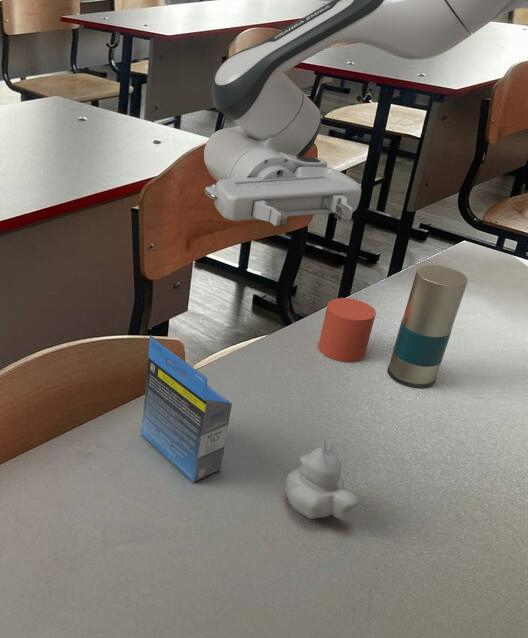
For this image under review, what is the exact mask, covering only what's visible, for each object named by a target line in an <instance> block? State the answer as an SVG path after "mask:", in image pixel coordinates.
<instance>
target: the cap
mask: <svg viewBox="0 0 528 638" xmlns="http://www.w3.org/2000/svg"><path fill="white" fill-rule="evenodd" d="M325 310H326V311H325V314H324V319H323V322H322V323H323V324H322V328H321V332H320V336H319V339H318V346H317V347H318V350H319V351H320V352H321V353H322V354H323V356H326V357H327V358H330V359H332V360H335V361H338V362H343V363H344V362H345V363H354V362H358V361H361V360H363V359H364V357H365V356H366V352H367V349H368V345H369V342H370V341H369V340H370V337H371V334H372V329H373V326H374V323H375V318H376V315H377V312H376V310H375V308H374V307H373V306H372V305H370V304H369V303H367V302H364V301H362V300H358V299H356V298H355V299H354V298H349V297H339V298H334V299H331V300H330V301H328V303H327V306H326V309H325Z"/></svg>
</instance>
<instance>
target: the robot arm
mask: <svg viewBox="0 0 528 638" xmlns="http://www.w3.org/2000/svg"><path fill="white" fill-rule="evenodd" d="M521 9H528V0H331V1H329V2H328V3H326V4H324V5H323V6H321V7H319V8H317V9H316V10H314V11H312V12H310V13H308V14H307V15H305V16H303V17H302V18H300V19H299V20H297V21H294V23H291V24H290V25H289V26H287V27H285V28H283V29H282V30H280V31H278V32H277V33H275V34H273V35H271V36H270V37H268V38H266V39H265V40H262V41H261V42H259V43H256V44H254V45H252V46H249V47H247V48H244V49H241V50H239V51H237V52H235V53H234V54H232V55H231V56H229V57H228V58H227V59H225V60H224V61H223V62H222V63H221V64H220V65H219V67H218V68H217V70H216V71H215V73H214V75H213V78H212V84H211V85H212V86H211V97H212V103H213V104H212V105H213V107H214V108H215V110H217V111H219V112H220V113H221V114H223V116H225V117H227V118H228V119H230V120H231V121H233V122H234V123H235V124H236V126H233V127H226V128H222V129H219V130H217V131H215V132H213V133H212V134H211V135H210V137H209V138H208V139H207V141H206V143H205V146H204V151H203V160H204V165H205V167H206V170H207V172H208V173H209V174H210V177H212V179H214V180H215V183H212V184H210V186H206V187H205V188H204V194H205V195H206V196H207V197H209V198H210V199H212V200H213V205H214V207H215V208H216V210H217V211H218V213H219V215H221V217H223V218H224V219H225V220H229V221H233V222H234V221H235V222H236V221H249V220H259V221H264V222H267V223H270V224H272V225H273V226H274V227H278V226H285V225H287V222H288V221H287V219H288V217H300V216H301V217H302V216H315V215H324V214H325V215H327V214H334V215H333V218H335V219H337V220H338V221H351V220H352V218H353V217H352V216H353V213H354V212H355V211H357V209H358V206H359V203H360V200H361V196H362V185H360V184H359V183H358V182H357V181H356V180H354V179H353V178H351V177H350V176H348V175H346V174H345V173H343V172H342V171H340V170H337V169H335V168H333V167H328V161H326V160H325V159H323V158H319V157H310V156H309V157H308V156H305V155H306V154H307V153H308V152H309V151H310V149H311V148H312V147H313V145H314V144H315V142H316V140H317V138H318V135H319V133H320V130H321V125H322V112H321V109H320V108H319V107H318V106H317V105H316V104H315V103H314V102H313V100H312V99H311V98H309V97H308V96H307V94H305V92H304V91H303V90H302V89H300V88H299V87H298V86H297V84H295V82H294V81H292V80H291V79H290V78H289V77H288V75H286V72H287V71H288V70H290V69H292V68H294V67H295V66H298V65H299V64H301V63H303V62H304V61H306V60H308V59H310V58H312V57H313V56H316V55H317V54H319V53H320V52H322V51H324V50H326V49H327V48H329V47H332V46H334V45H337V44H341V43H348V42H349V43H358V44H359V43H360V44H364V45H367V46H370V47H373V48H376V49H378V50H381V51H383V52H385V53H387V54H389V55H391V56H395V57H398V58H401V59H404V60H405V59H406V60H415V61H416V60H417V61H418V60H421V61H422V60H429V59H433V58H435V57H438V56H440V55H442V54H444V53H446V52H448V51H450V50H451V49H453V48H455V47H456V46H458V45H459V44H460V43H463V41H465V40H467V39H468V38H469V37H471V36H472V35H474V34H475V33H476V32H478V31H479V30H481V29H482V28H484V27H485V26H487V25H488V24H489V23H491V22H492V21H494V20H496V19H497V18H499V17H501V16H503V15H504V14H507V13H509V12H512V11H515V10H521Z"/></svg>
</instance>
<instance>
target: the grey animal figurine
mask: <svg viewBox="0 0 528 638" xmlns="http://www.w3.org/2000/svg"><path fill="white" fill-rule="evenodd" d="M299 460H300V464H301V466H300V468H297V469H294V470H292V471H291V472H290V473H288V475H287V476H286V481H285V491H286V492H285V493H286V496H287V500H288V502H289V504H290V506H291V507H292V508H293V509H294V510H296V512H298V513H299V514H301V515H302V516H305V517H306V518H308V519H310V520H315V519H318V518H319V519H321V518H326V517H329V516H332V517H335V518H337V519H339V520H343V521H346V520H347V521H348V520H349V519H350V518H351V517H352V511H353V510H354V509H355V508H356V507H357V506H358V504H359V498H358V496H357V495H356V494H355V493H353V492H352V491H350V490H348V489H346V488H345V489H344V487H345V486H344V485H345V484H344V483H345V482H344V479H343V478H342V477H341V474H342V463H341V460H340V458H339V456H338V454H337V452H336V451H335V449H334V447H333V446H332V445H329V446H327V444H326V440H325V439H324V440H323V441H322V444H321V446H320V447H317V448H315V449H313V450H312V451H310V453H308V454H304V455H302V456H301V457H300V459H299Z"/></svg>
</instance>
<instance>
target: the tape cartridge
mask: <svg viewBox="0 0 528 638" xmlns="http://www.w3.org/2000/svg"><path fill="white" fill-rule="evenodd" d="M148 342H149V343H148V356H147V366H146V367H147V368H146V369H147V370H146V379H145V389H144V390H145V391H144V400H143V401H144V402H143V410H142V421H141V430H140V434H141V436H142V437H143V438H145V439H146V441H148V442H149V443H150V444H151V445H152V446H153V447H154V448H155V449H157V450H158V451H159V452H160V453H161V454H162V455H163V456H164V457H165V458H166V459H167V460H168V461H169V462H171V464H173V465H174V466H175V467H176V468H177V469H178V470H179V471H181V472H182V473H183V475H185V476H186V477H187V478H188V479H189V480H190V481H191V482H193V483H195V482H198V481H200V480H202V479H205V478H207V477H209V476H210V475H213V474H216V473H218V472H220V471H221V469H222V462H223V457H224V452H225V447H226V446H225V445H226V440H227V435H228V429H229V422H230V417H231V412H232V406H233V403H232V402H231V401H230V400H228V399H227V398H226V397H224V396H223V395H222V394H220V393H219V392H217V391H216V390H214V388H212V387H211V386H209V385H208V377H207V376H206V375H205V374H203V373H201V372H200V371H199V370H197V369H196V368H195V367H193V366H192V365H191V364H189V363H188V362H187V361H186V360H184V359H183V358H182V357H180V356H179V355H178V354H176V353H175V352H174V351H172V350H171V349H169V348H168V347H167V346H165V345H164V344H163V343H161V342H160V341H159V340H158V339H156V338H155V337H154V336H152V335H149V341H148Z"/></svg>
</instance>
